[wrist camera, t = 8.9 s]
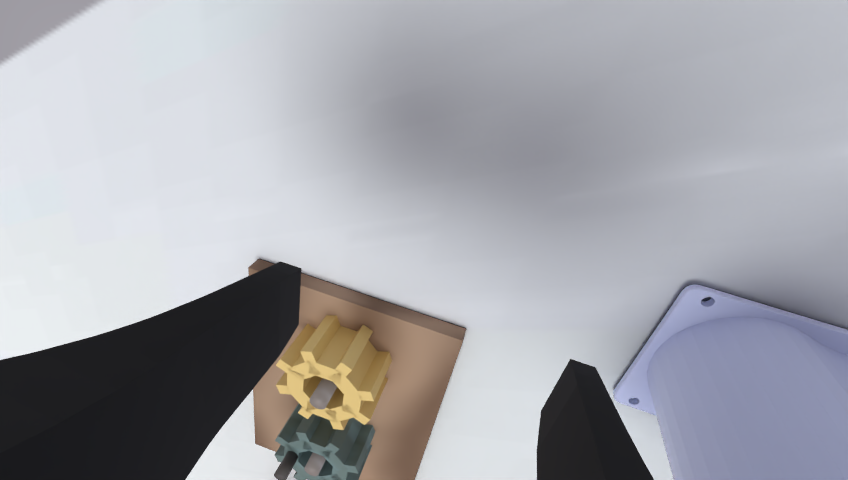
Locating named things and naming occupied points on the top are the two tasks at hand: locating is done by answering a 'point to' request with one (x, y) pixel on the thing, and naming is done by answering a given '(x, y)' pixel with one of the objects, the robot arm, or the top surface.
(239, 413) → the top surface
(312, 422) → the gear board
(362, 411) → the ochre gear
